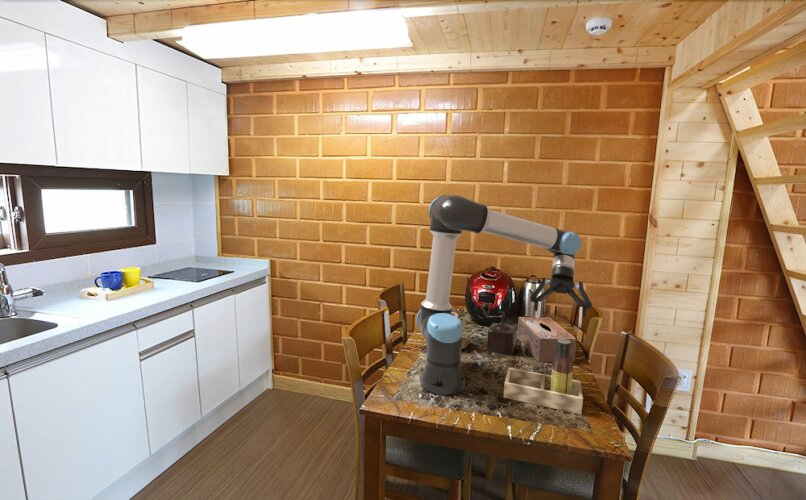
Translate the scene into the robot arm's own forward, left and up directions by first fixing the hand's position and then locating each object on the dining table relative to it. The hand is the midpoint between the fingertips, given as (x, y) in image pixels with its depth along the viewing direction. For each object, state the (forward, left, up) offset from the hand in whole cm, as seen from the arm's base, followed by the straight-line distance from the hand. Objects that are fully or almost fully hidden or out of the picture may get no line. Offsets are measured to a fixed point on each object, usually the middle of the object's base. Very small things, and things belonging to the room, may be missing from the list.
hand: (558, 322), depth 130 cm
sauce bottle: (-8, -9, -22) cm, 25 cm away
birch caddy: (-11, -5, -22) cm, 25 cm away
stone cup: (-15, +41, -22) cm, 49 cm away
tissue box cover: (+20, +22, -22) cm, 37 cm away
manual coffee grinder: (+2, +32, -22) cm, 39 cm away
